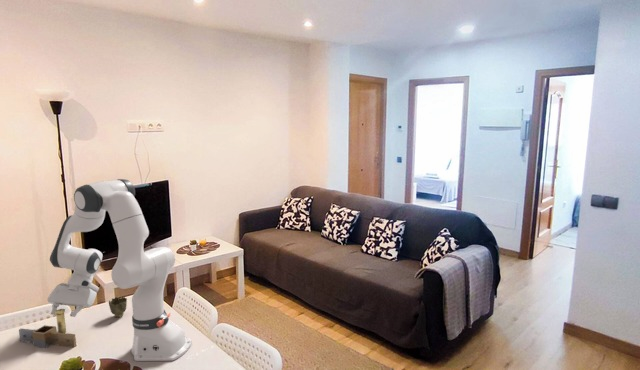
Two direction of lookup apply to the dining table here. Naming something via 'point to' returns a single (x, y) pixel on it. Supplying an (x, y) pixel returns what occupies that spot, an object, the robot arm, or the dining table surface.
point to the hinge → (47, 337)
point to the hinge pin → (61, 320)
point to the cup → (118, 306)
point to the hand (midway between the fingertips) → (62, 315)
